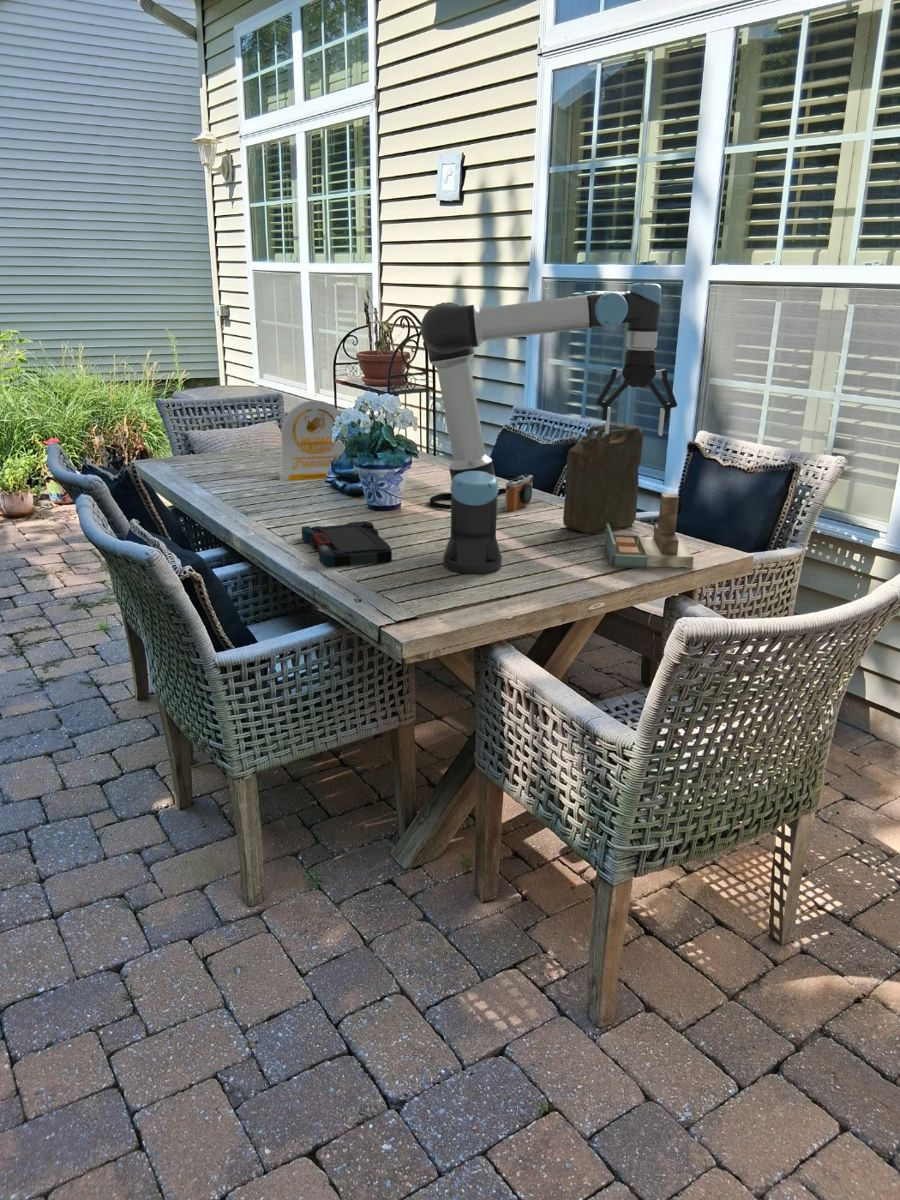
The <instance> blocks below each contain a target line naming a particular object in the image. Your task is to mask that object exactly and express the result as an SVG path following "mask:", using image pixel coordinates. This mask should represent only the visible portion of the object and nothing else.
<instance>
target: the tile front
mask: <svg viewBox="0 0 900 1200" xmlns="http://www.w3.org/2000/svg"><path fill="white" fill-rule="evenodd" d="M618 555H635V556H639V550H638V548H637V547H620V546H618Z"/></svg>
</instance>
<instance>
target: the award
mask: <svg viewBox="0 0 900 1200" xmlns="http://www.w3.org/2000/svg"><path fill="white" fill-rule="evenodd" d="M340 413H341V412H340V410H338V409H337V407H335V406H333V405H332V404H330V403H328V402H326V401H321V400H316V399H315V400H307V401H303V402H301V403H298V404H297V405H295V406H294V407H293V408H292V409H290V410H289V412H288V413H287V415H286V416H285V417H284V419H283V422H282V427H281V431H280V432H281V433H280V434H281V451H282V469H278V470H276V476H277V478H278V479H279V481H296V480H297V481H298V480H299V481H300V480H316V479H317V480H319V479H327V478H326V476H327V474H328V471H329V468H330V463H331V459H334V458H338V457H339V456H340V455H341V454H342V453H343V451H344V444H343V443H341V442H337V443H333V442H332V428H333V424H334V421H335V418H336V417H337V415H339V414H340Z"/></svg>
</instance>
